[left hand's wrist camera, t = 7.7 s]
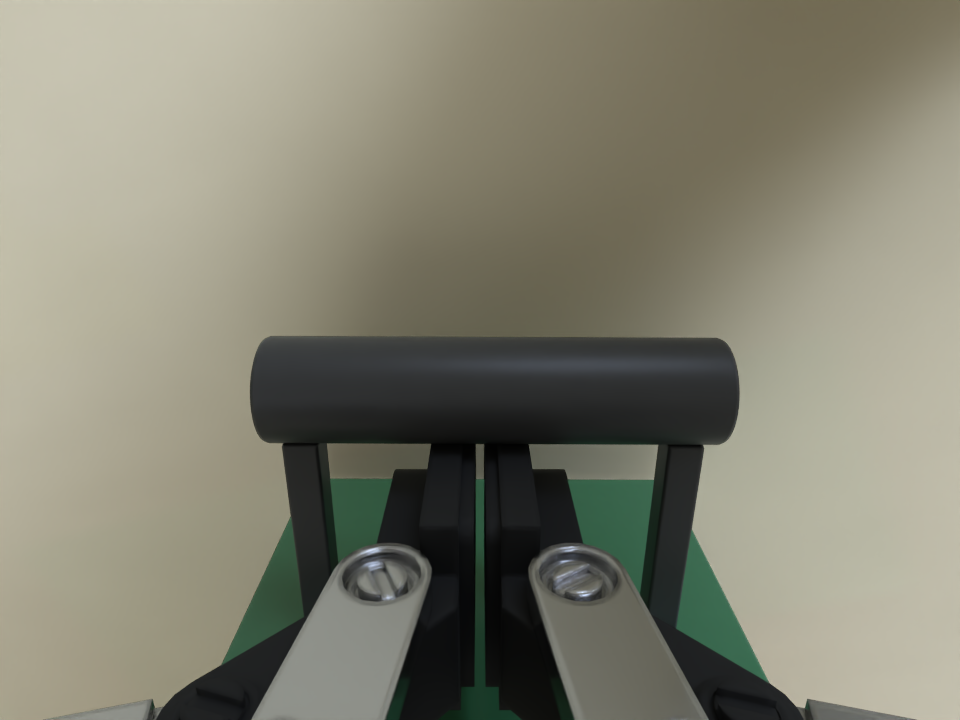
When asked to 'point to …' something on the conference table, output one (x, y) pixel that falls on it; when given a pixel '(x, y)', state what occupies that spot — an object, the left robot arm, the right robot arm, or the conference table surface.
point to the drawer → (499, 420)
